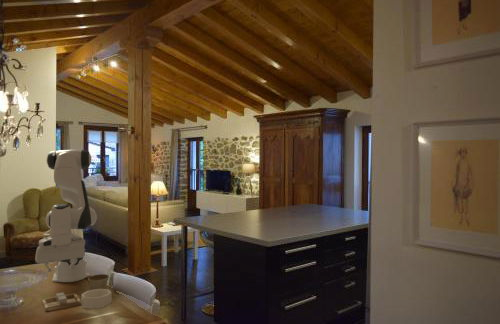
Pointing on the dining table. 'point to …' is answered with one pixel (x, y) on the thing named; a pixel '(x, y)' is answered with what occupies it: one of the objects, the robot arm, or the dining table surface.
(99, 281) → the flower pot
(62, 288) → the dining table surface
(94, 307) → the bowl
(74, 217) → the robot arm
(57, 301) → the tall grey rectangular block
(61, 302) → the block
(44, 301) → the tray
